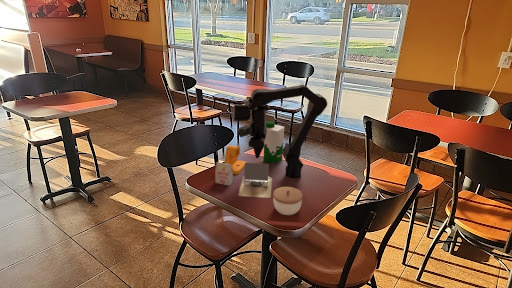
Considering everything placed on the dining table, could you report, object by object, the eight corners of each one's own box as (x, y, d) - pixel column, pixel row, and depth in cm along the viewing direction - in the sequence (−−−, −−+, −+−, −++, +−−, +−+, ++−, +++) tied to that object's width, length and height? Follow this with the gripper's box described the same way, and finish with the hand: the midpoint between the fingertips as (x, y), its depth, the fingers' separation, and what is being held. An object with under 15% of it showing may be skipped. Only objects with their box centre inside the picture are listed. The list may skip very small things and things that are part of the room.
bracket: (238, 176, 148) (238, 152, 143) (223, 173, 150) (223, 149, 145) (247, 166, 157) (247, 143, 152) (233, 164, 159) (233, 141, 155)
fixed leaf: (268, 177, 145) (269, 172, 144) (267, 188, 136) (267, 183, 135) (246, 176, 146) (246, 171, 145) (243, 186, 137) (244, 181, 136)
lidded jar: (271, 218, 118) (272, 196, 114) (273, 202, 128) (274, 181, 124) (301, 221, 116) (302, 198, 113) (301, 205, 126) (303, 183, 123)
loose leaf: (267, 187, 136) (267, 186, 138) (268, 163, 135) (269, 163, 138) (243, 185, 136) (244, 185, 138) (245, 162, 136) (245, 162, 138)
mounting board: (272, 179, 145) (272, 177, 145) (270, 199, 129) (270, 197, 129) (243, 178, 146) (243, 176, 146) (238, 198, 130) (238, 195, 130)
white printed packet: (218, 180, 143) (218, 160, 140) (233, 183, 141) (232, 162, 137) (215, 184, 140) (214, 163, 136) (229, 187, 138) (229, 166, 134)
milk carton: (269, 156, 169) (270, 119, 161) (284, 160, 164) (286, 122, 157) (260, 162, 162) (261, 123, 154) (276, 166, 157) (278, 127, 150)
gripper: (242, 113, 144) (242, 145, 150) (235, 126, 127) (236, 162, 133) (267, 113, 143) (266, 146, 149) (264, 127, 126) (263, 164, 132)
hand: (258, 154), depth 141 cm, fingers open, 7 cm apart
